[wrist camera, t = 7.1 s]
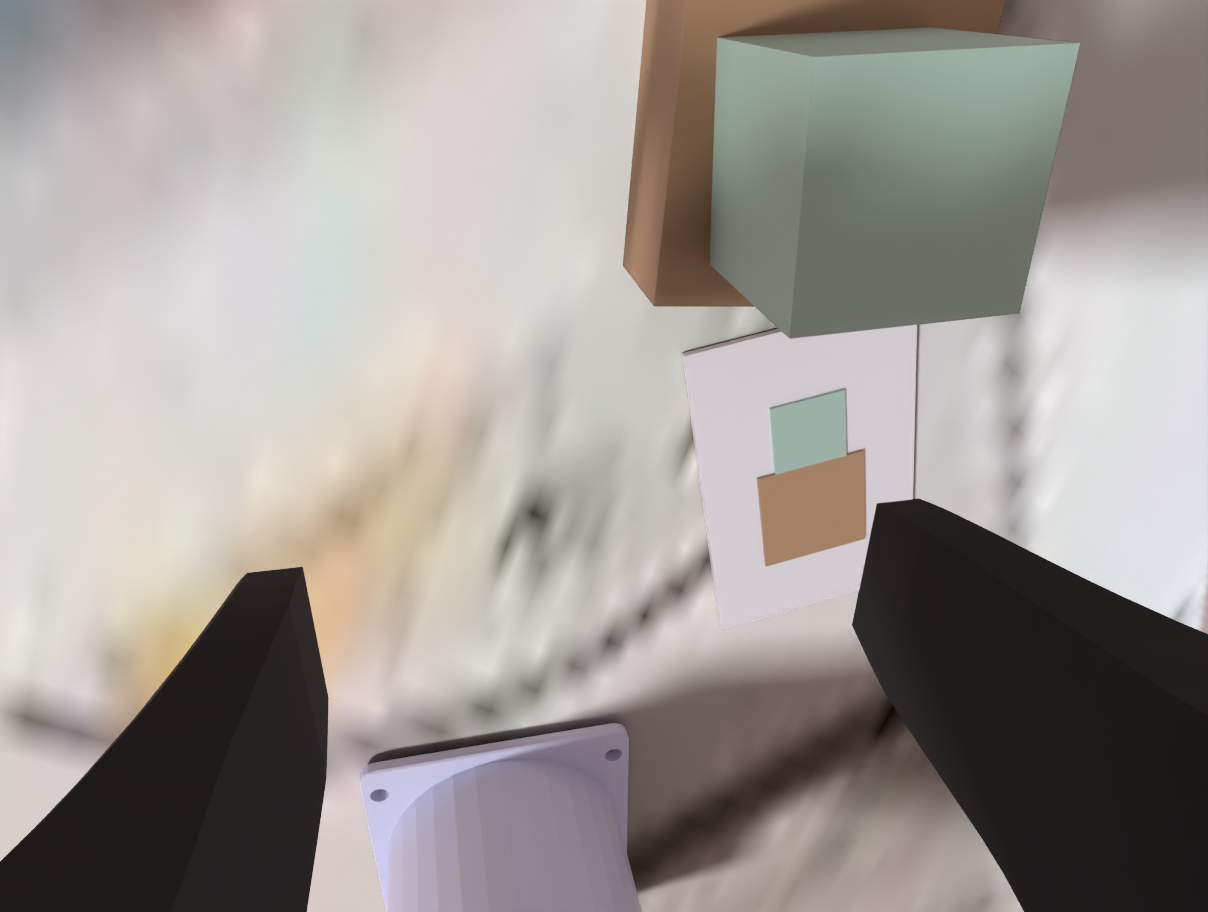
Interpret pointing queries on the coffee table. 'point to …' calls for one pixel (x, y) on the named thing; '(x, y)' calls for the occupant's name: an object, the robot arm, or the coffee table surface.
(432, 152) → the coffee table surface
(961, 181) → the green brick
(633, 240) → the walnut brick
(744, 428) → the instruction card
